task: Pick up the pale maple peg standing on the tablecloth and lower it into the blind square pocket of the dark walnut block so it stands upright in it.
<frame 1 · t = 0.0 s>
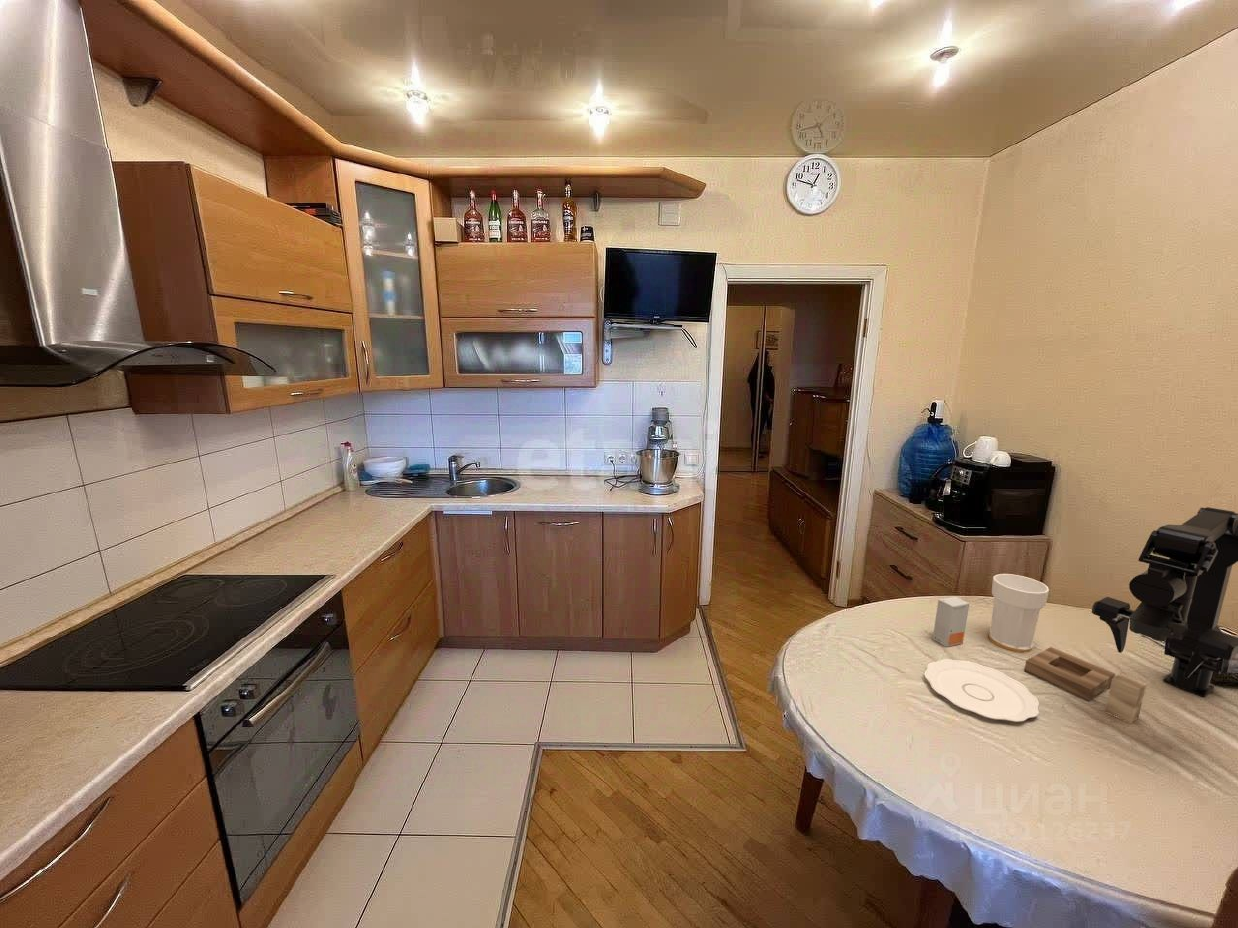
hand: (1151, 664, 95), 15 cm above the table, tool pointing down, fingers open, 9 cm apart
cup: (1010, 643, 128), on the table
plate: (977, 693, 109), on the table
maple peg: (1121, 714, 102), on the table
skincare box: (947, 642, 129), on the table
socket block: (1067, 677, 113), on the table
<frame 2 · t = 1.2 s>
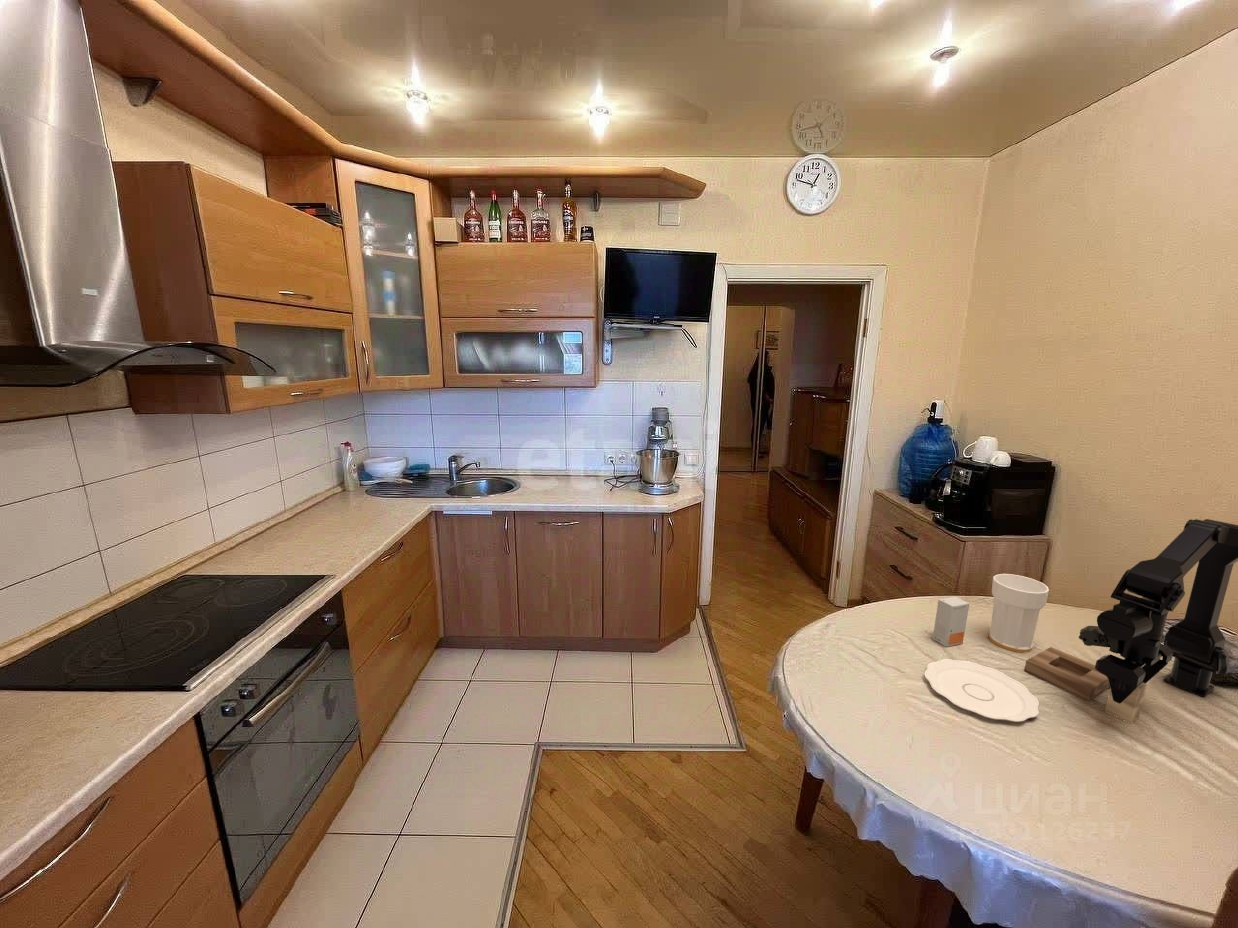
hand: (1126, 694, 101), 5 cm above the table, tool pointing down, fingers open, 9 cm apart
nothing on the table moved.
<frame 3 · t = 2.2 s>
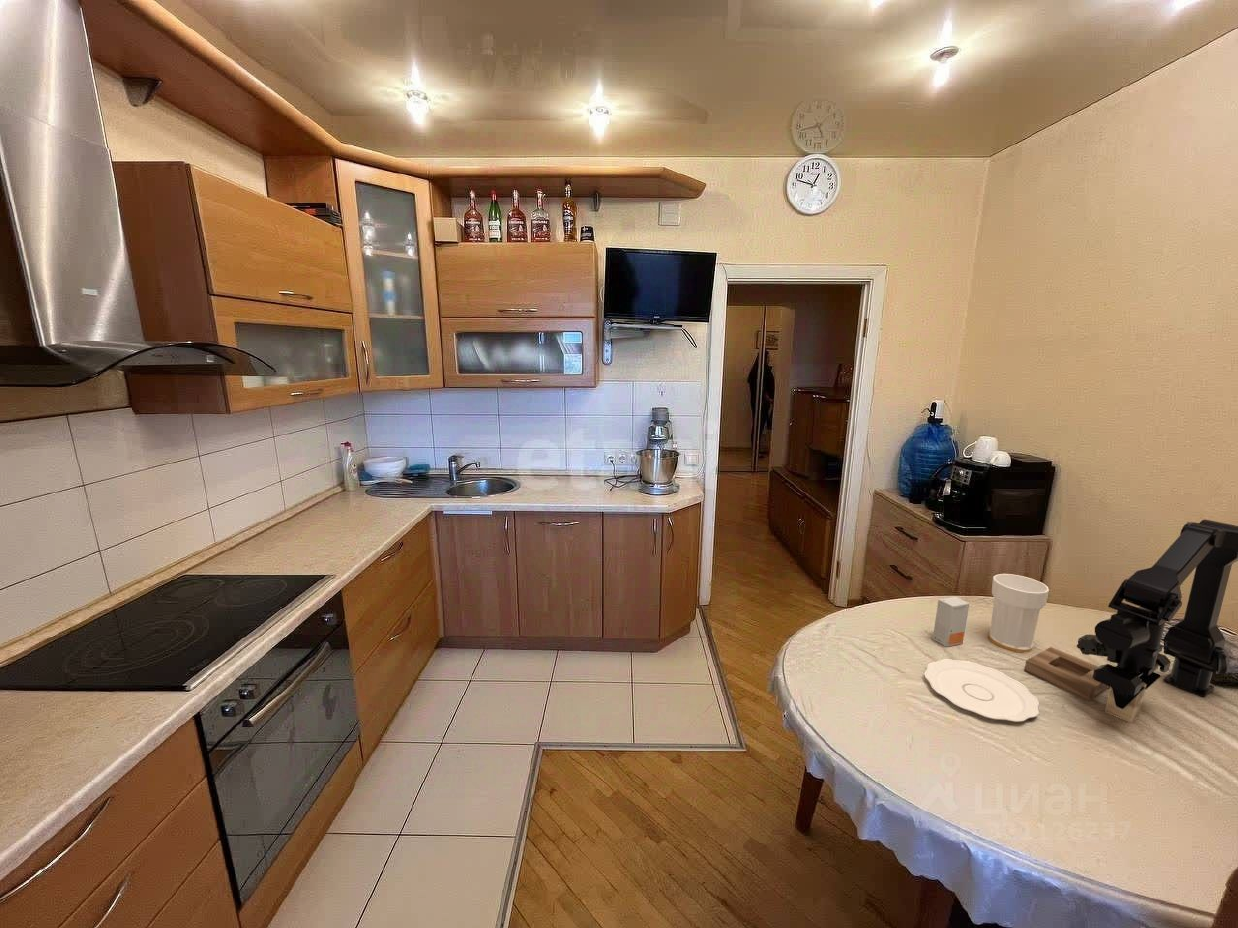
hand: (1124, 703, 101), 3 cm above the table, tool pointing down, fingers closed on maple peg, 4 cm apart
maple peg: (1121, 714, 102), on the table, touching gripper
everything else where it was.
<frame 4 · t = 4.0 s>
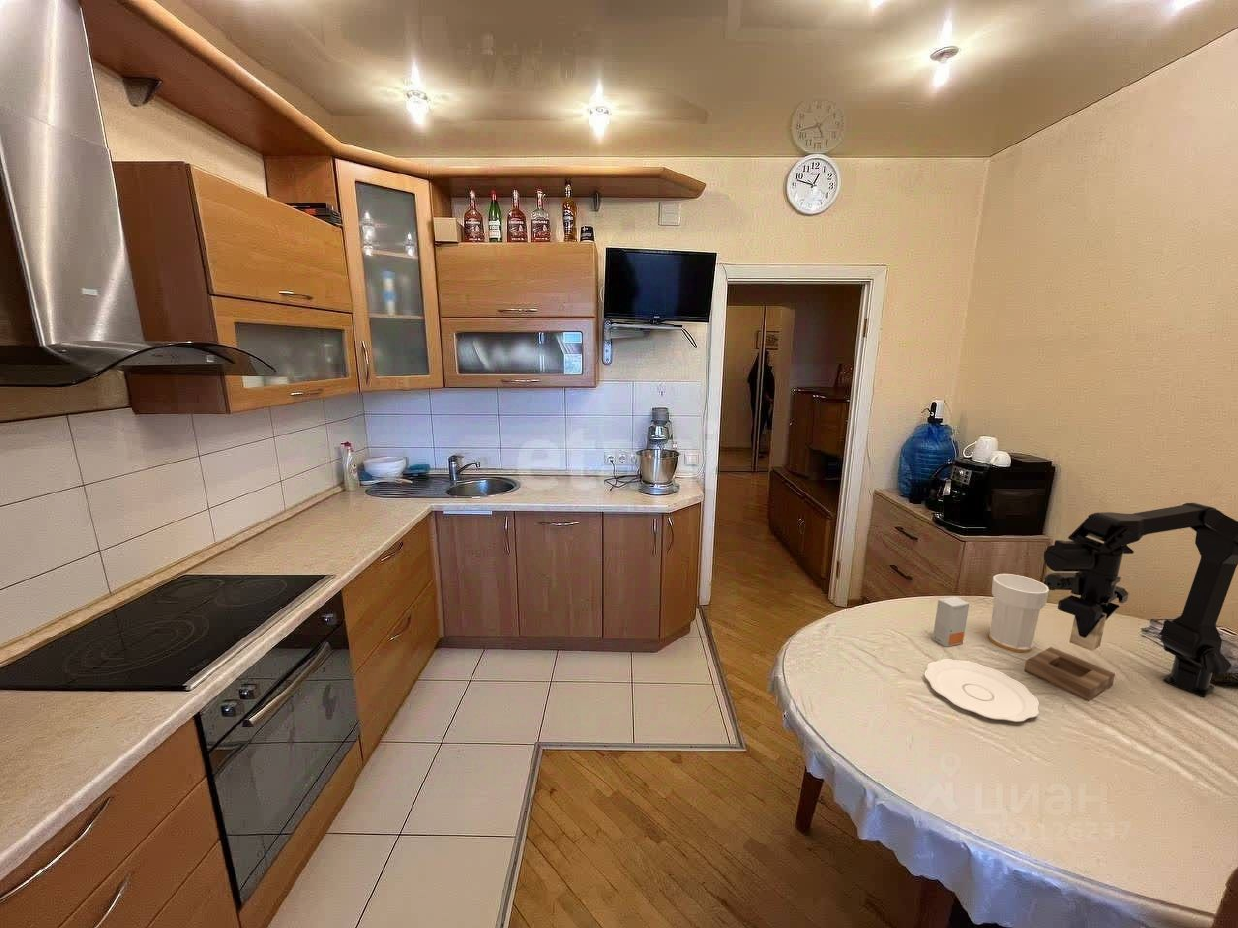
hand: (1086, 633, 109), 13 cm above the table, tool pointing down, fingers closed on maple peg, 4 cm apart
maple peg: (1084, 644, 109), point 10 cm above the table, touching gripper
everything else where it was.
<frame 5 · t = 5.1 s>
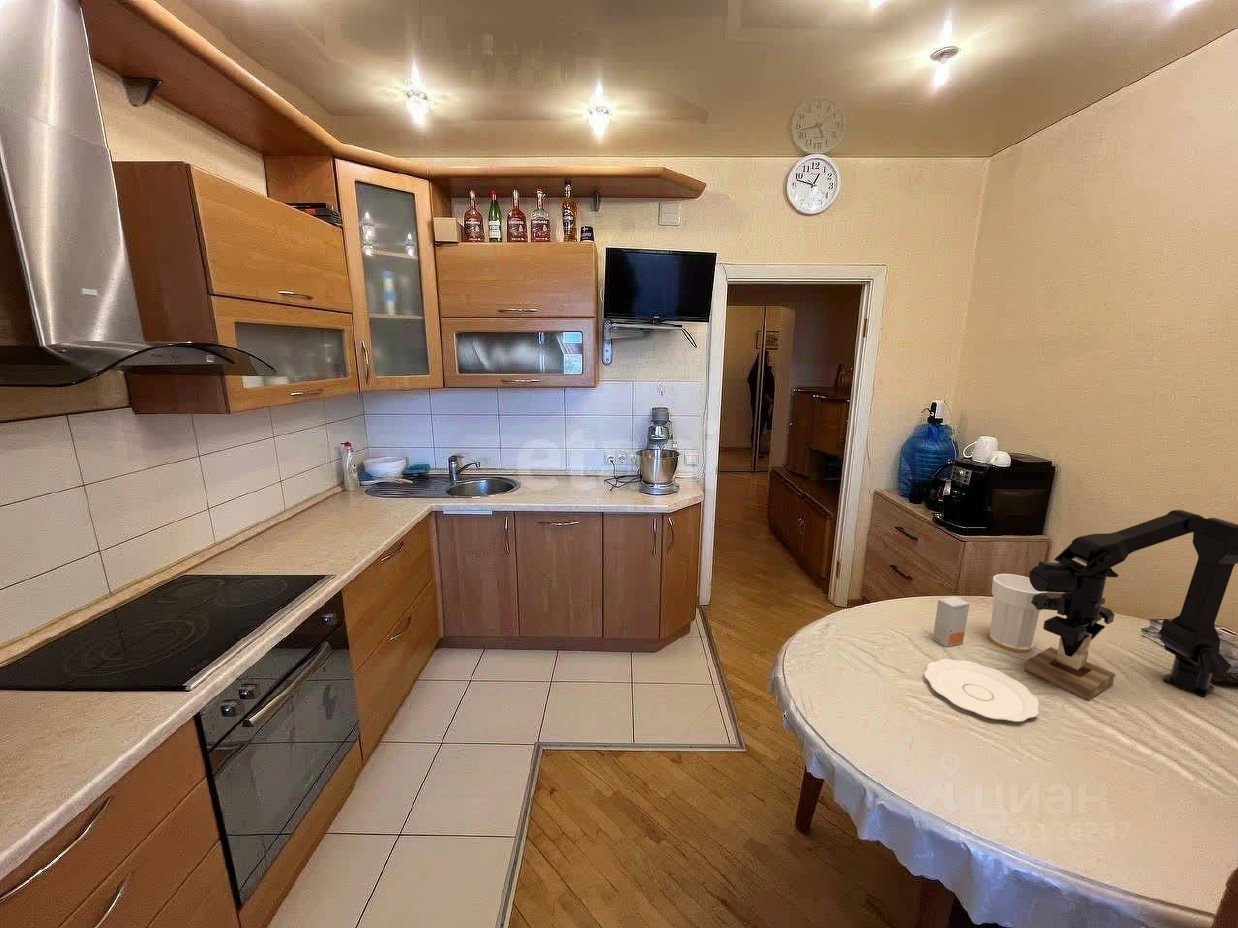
hand: (1072, 653, 112), 7 cm above the table, tool pointing down, fingers closed on maple peg, 4 cm apart
maple peg: (1070, 662, 113), point 4 cm above the table, touching gripper
everything else where it was.
when the fingers open (4 cm above the table, at t = 5.9 s): maple peg stays where it is, resting on socket block.
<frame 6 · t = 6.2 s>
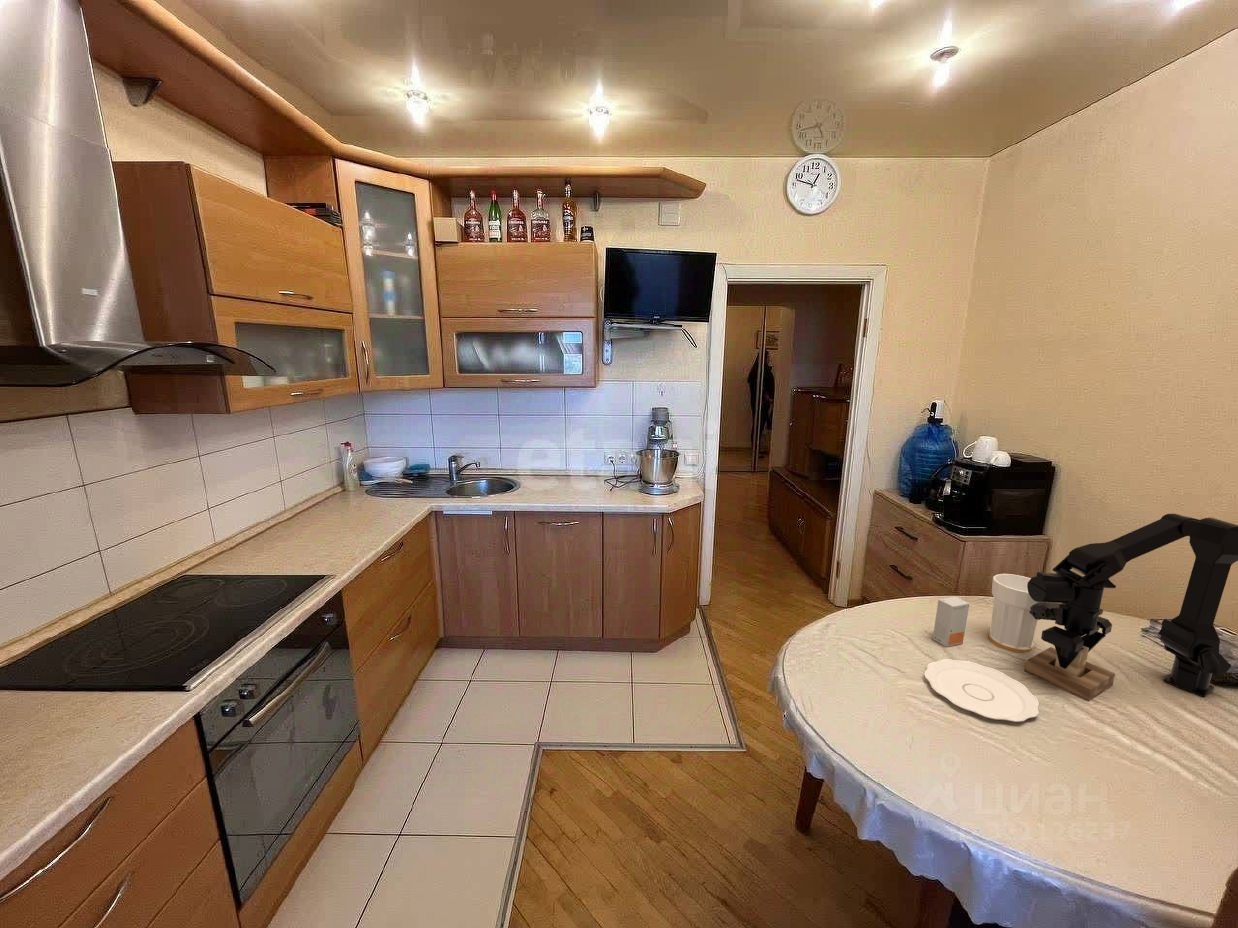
hand: (1070, 662, 113), 4 cm above the table, tool pointing down, fingers open, 7 cm apart
maple peg: (1067, 675, 113), resting on socket block
everything else where it was.
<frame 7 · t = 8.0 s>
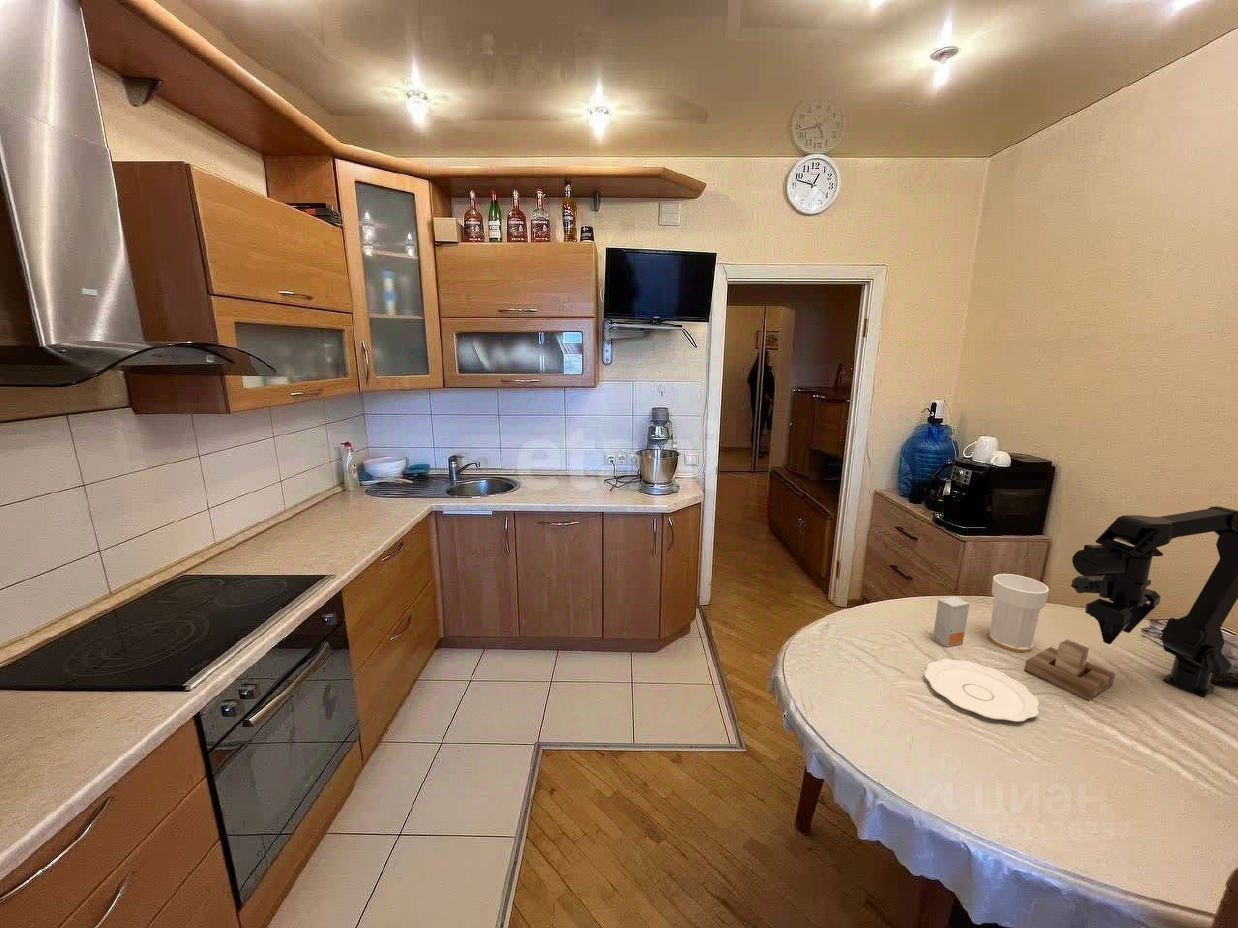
hand: (1116, 637, 108), 13 cm above the table, tool pointing down, fingers open, 9 cm apart
nothing on the table moved.
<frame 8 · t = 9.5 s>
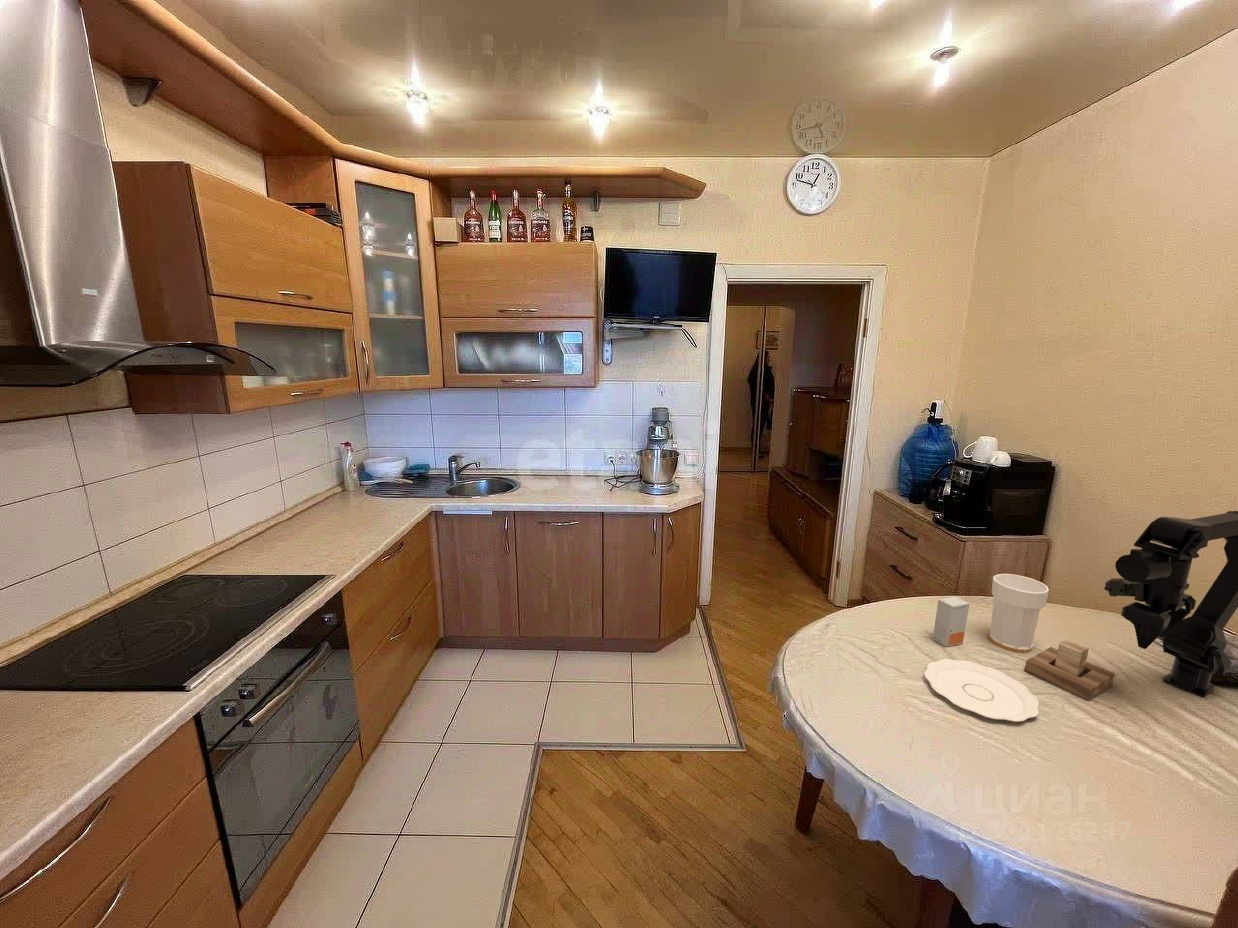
hand: (1150, 642, 105), 13 cm above the table, tool pointing down, fingers open, 9 cm apart
nothing on the table moved.
at the end: maple peg 0.0 cm off-centre on the socket block, point 0.5 cm above the socket block's base; maple peg tilted 0°; the gripper is holding nothing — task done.
